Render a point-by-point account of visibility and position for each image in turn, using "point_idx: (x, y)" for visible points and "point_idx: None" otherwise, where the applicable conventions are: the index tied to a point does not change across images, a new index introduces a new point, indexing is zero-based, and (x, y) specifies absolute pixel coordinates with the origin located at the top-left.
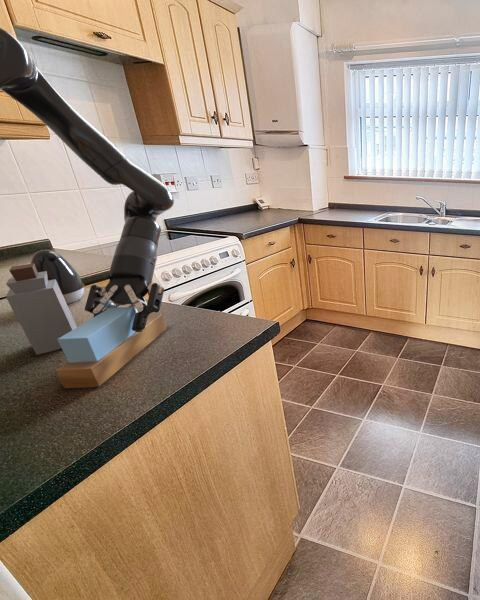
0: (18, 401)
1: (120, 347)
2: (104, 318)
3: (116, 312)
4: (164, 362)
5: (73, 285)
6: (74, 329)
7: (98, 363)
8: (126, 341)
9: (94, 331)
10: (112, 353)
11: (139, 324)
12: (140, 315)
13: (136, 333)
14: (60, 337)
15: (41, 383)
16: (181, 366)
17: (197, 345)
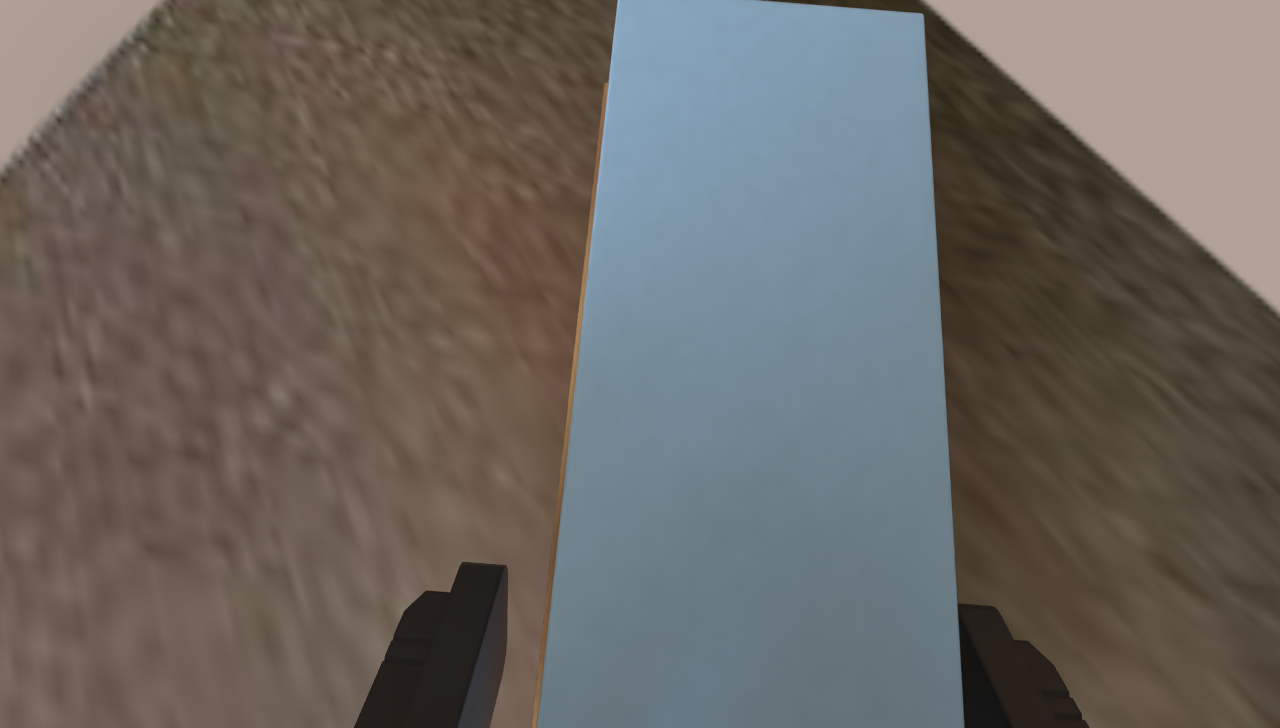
0: (1003, 124)
1: (569, 392)
2: (754, 463)
3: (708, 683)
4: (272, 406)
5: None
6: (917, 191)
7: (597, 146)
8: (560, 486)
9: (633, 108)
10: (581, 293)
11: (423, 619)
12: (398, 726)
13: (540, 666)
14: (920, 41)
15: (1036, 280)
16: (122, 326)
17: (39, 667)
